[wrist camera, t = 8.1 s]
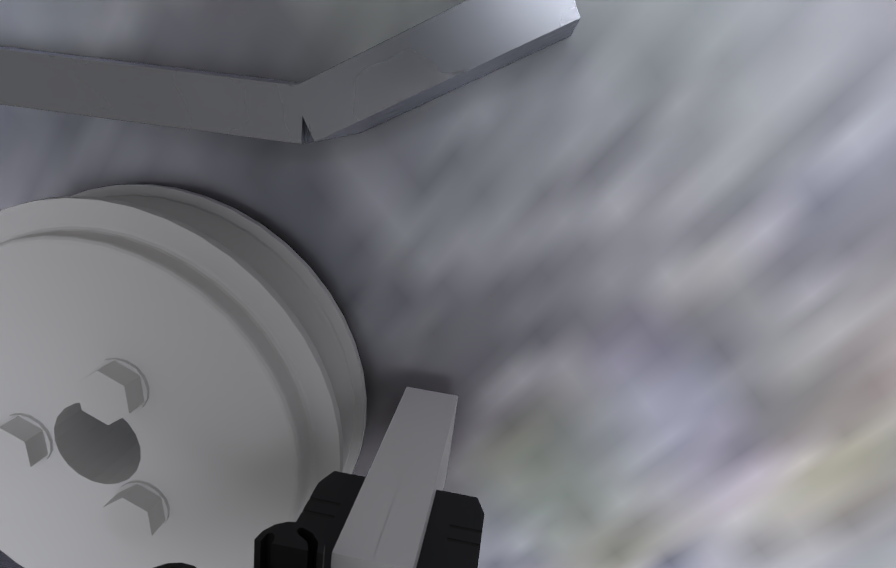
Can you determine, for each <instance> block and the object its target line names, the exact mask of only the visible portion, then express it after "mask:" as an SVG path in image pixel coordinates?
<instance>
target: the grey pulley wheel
mask: <svg viewBox="0 0 896 568" xmlns="http://www.w3.org/2000/svg"><path fill="white" fill-rule="evenodd" d="M366 408H367V396H366V388H365V380H364V372H363V368H362V365H361V361H360V357H359V354H358V350H357V346H356V343H355V341H354V339H353V336H352V334H351V332H350V329H349V327H348V325H347V322H346V320H345V318H344V316H343V314H342V312H341V311H340V309H339V307H338V306H337V304H336V302H335V301H334V299H333V297H332V296H331V294H330V292H329V291H328V289H327V288H326V287H325V285H324V284H323V283H322V282H321V280H320V279H319V278H318V276H317V275H316V274H315V273H314V271H313V270H312V269H311V267H310V266H309V265H308V264H307V263H306V262H305V261H304V260H303V259H302V258H301V257H300V256H299V255H298V254H297V253H296V252H295V251H294V250H293V249H292V248H291V247H290V246H289V245H288V244H287V243H285V242H284V241H283V240H281V239H280V238H279V237H278V236H276V235H275V234H274V233H272V232H271V231H270V230H269V229H267V228H266V227H265V226H263V225H262V224H261V223H259V222H257V221H255V220H254V219H252V218H250V217H249V216H247V215H245V214H244V213H242V212H240V211H239V210H237V209H235V208H233V207H231V206H228V205H226V204H224V203H221V202H219V201H217V200H214V199H212V198H210V197H207V196H205V195H201V194H198V193H194V192H190V191H187V190H183V189H180V188H176V187H168V186H160V185H153V184H118V185H112V186H107V187H101V188H96V189H91V190H86V191H83V192H81V193H78V194H75V195H72V196H70V197H55V198H49V199H43V200H37V201H31V202H27V203H24V204H20V205H17V206H13V207H9V208H6V209H3V210H1V211H0V550H1V551H2V552H4V553H5V554H6V555H7V556H9V557H10V558H11V559H12V560H14V561H15V562H16V563H18V564H19V565H21V566H22V567H24V568H154V567H157V566H160V565H163V564H166V563H181V562H182V563H185V564H189V565H193V566H195V567H196V568H254V539H255V538H256V537H257V536H258V535H259V534H260V533H261V532H262V531H263V530H265V529H267V528H269V527H271V526H273V525H275V524H279V523H284V522H296V521H297V519H298V518H299V516H300V514H301V512H303V509H304V507H305V505H306V504H307V502H308V500H310V496H311V495H312V493H313V491H314V489H315V488H316V486H317V484H318V482H320V481H321V480H322V479H324V478H325V477H326V476H328V475H329V474H330V473H332V472H333V471H338V472H343V473H348V474H352V473H353V471H354V468H355V465H356V462H357V460H358V457H359V454H360V451H361V449H362V443H363V438H364V433H365V427H366Z"/></svg>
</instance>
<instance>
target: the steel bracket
mask: <svg viewBox="0 0 896 568" xmlns="http://www.w3.org/2000/svg"><path fill="white" fill-rule="evenodd" d="M579 19H580V15H579V12H578V9H577V6H576V3H575V0H466V1H464V2H462V3H460V4H458V5H456V6H454V7H452V8H450V9H448V10H446V11H444V12H442V13H440V14H438V15H436V16H434V17H432V18H430V19H428V20H426V21H424V22H422V23H420V24H418V25H416V26H414V27H412V28H410V29H408V30H406V31H404V32H402V33H400V34H398V35H396V36H394V37H392V38H390V39H388V40H386V41H384V42H382V43H380V44H378V45H376V46H374V47H372V48H370V49H368V50H366V51H364V52H362V53H360V54H358V55H356V56H354V57H352V58H350V59H348V60H346V61H344V62H342V63H340V64H338V65H336V66H334V67H332V68H330V69H328V70H326V71H324V72H322V73H320V74H318V75H316V76H314V77H312V78H310V79H308V80H306V81H304V82H302V83H300V82H292V81H284V80H276V79H267V78H259V77H251V76H243V75H235V74H226V73H218V72H210V71H202V70H193V69H185V68H177V67H169V66H161V65H152V64H144V63H136V62H128V61H120V60H111V59H103V58H95V57H87V56H78V55H70V54H62V53H54V52H46V51H37V50H29V49H21V48H13V47H4V46H0V104H3V105H11V106H18V107H26V108H33V109H41V110H48V111H56V112H63V113H71V114H79V115H86V116H94V117H101V118H109V119H116V120H124V121H131V122H139V123H146V124H154V125H162V126H169V127H177V128H184V129H192V130H199V131H207V132H214V133H222V134H230V135H237V136H245V137H252V138H260V139H267V140H275V141H282V142H290V143H297V144H304V143H309V142H317V141H322V140H327V139H332V138H337V137H342V136H347V135H352V134H357V133H361V132H363V131H365V130H368V129H370V128H372V127H374V126H376V125H378V124H381V123H383V122H385V121H387V120H389V119H391V118H394V117H396V116H398V115H400V114H402V113H404V112H407V111H409V110H411V109H413V108H415V107H417V106H419V105H422V104H424V103H426V102H428V101H430V100H432V99H435V98H437V97H439V96H441V95H443V94H445V93H448V92H450V91H452V90H454V89H456V88H458V87H461V86H463V85H465V84H467V83H469V82H471V81H474V80H476V79H478V78H480V77H482V76H484V75H487V74H489V73H491V72H493V71H495V70H497V69H500V68H502V67H504V66H506V65H508V64H510V63H513V62H515V61H517V60H519V59H521V58H523V57H526V56H528V55H530V54H532V53H534V52H536V51H539V50H541V49H543V48H545V47H547V46H549V45H552V44H554V43H556V42H558V41H560V40H562V39H565V38H567V37H569V36H571V34H572V32H573V31H574V29H575V27H576V25H577V23H578V21H579ZM0 568H24V567H22V566H21V565H19V564H18V563H16V562H15V561H14V560H12V559H11V558H10V557H9V556H7V555H6V554H5V553H4V552H2V551H1V550H0Z"/></svg>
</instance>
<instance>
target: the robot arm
mask: <svg viewBox="0 0 896 568" xmlns="http://www.w3.org/2000/svg"><path fill="white" fill-rule="evenodd" d="M457 401H458V396H456V395H450V394H445V393H439V392H434V391H428V390H423V389H417V388H412V387H406V389H405V392H404V394H403V396H402V398H401V400H400V403H399V405H398V407H397V409H396V411H395V414H394V416H393V418H392V420H391V423H390V425H389V427H388V429H387V431H386V434H385V436H384V438H383V440H382V443H381V445H380V447H379V449H378V451H377V454H376V456H375V458H374V460H373V463H372V465H371V467H370V469H369V471H368V474H367V476H366V477H363V476H358V475H353V474H348V473H343V472H338V471H333V472H332V473H330V474H329V475H328V476H326V477H325V478H324V479H322V480H321V481H320V482H318V484H317V486H316V488H315V489H314V491H313V493H312V495H311V496H310V500H308V502H307V504H306V505H305V507H304V509H303V512H301V514H300V516H299V518H298V519H297V521H296V522H284V523H279V524H275V525H273V526H271V527H269V528H267V529H265V530H263V531H262V532H261V533H260V534H259V535H258V536H257V537H256V538H255V539H254V568H477V567H478V559H479V551H480V543H481V535H482V527H483V519H484V512H483V510H482V508H481V505H480V503H479V500H478V498H476V497H471V496H466V495H461V494H456V493H451V492H446V491H443V489H444V485H445V481H446V476H447V469H448V463H449V456H450V449H451V442H452V435H453V428H454V422H455V415H456V408H457ZM154 568H196V567H195V566H193V565H189V564H185V563H182V562H181V563H166V564H163V565H160V566H157V567H154Z"/></svg>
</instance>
